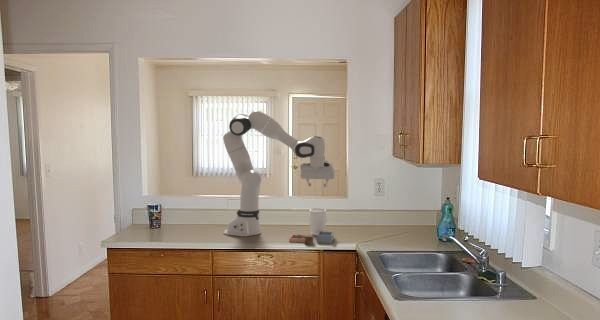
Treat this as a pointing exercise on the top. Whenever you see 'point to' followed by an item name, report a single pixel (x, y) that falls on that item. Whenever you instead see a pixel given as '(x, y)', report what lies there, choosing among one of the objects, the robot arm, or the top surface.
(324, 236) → the grey open box
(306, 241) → the block
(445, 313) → the top surface
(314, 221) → the jar
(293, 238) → the dish
